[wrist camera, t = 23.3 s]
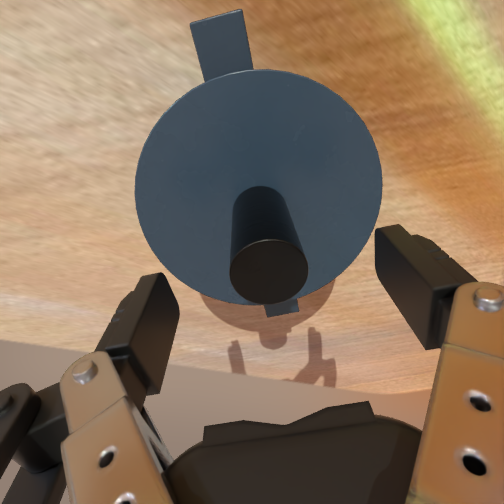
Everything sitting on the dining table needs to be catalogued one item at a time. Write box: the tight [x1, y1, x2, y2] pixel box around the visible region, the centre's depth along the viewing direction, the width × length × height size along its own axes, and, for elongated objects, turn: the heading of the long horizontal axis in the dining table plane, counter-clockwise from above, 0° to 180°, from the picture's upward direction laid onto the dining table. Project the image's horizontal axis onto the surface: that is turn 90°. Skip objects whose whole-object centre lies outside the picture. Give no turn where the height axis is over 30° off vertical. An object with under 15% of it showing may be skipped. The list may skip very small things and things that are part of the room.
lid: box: [135, 69, 383, 305], centre depth 14 cm, size 13×13×7 cm
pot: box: [190, 9, 299, 317], centre depth 20 cm, size 12×18×8 cm
